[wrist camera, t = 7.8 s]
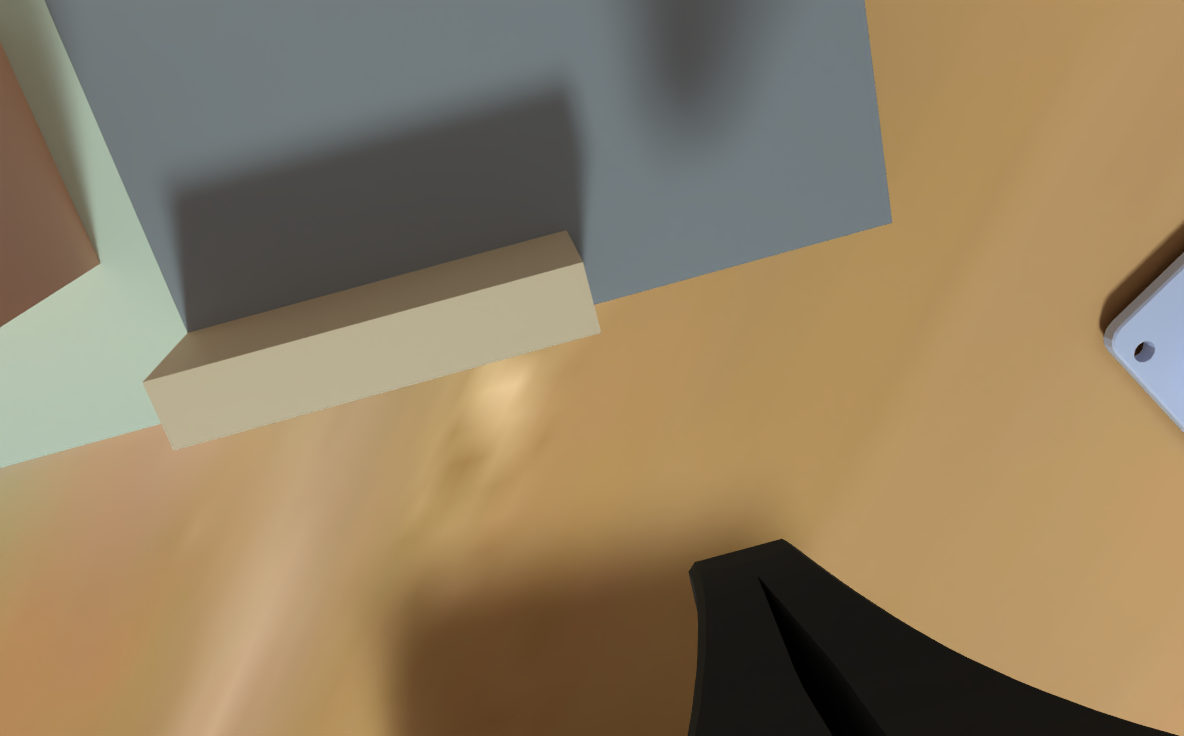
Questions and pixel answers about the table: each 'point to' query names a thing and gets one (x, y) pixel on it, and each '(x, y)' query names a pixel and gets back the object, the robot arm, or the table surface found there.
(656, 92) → the deck
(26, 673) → the table surface
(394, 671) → the table surface
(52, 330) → the pale green block
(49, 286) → the terracotta block
